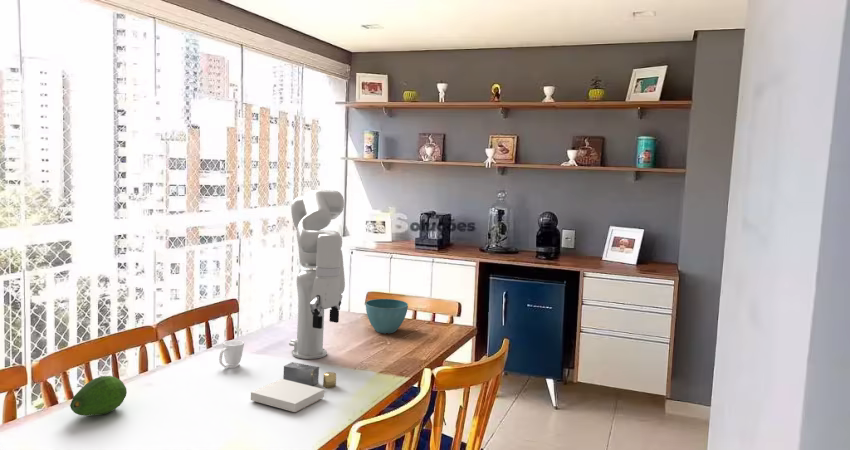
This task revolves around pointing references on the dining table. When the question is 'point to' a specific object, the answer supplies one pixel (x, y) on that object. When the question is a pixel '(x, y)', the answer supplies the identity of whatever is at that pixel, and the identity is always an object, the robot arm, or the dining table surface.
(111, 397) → the fruit
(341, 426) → the dining table surface
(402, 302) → the teal bowl
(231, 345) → the cup
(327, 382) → the cylinder
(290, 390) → the stand
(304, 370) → the block
